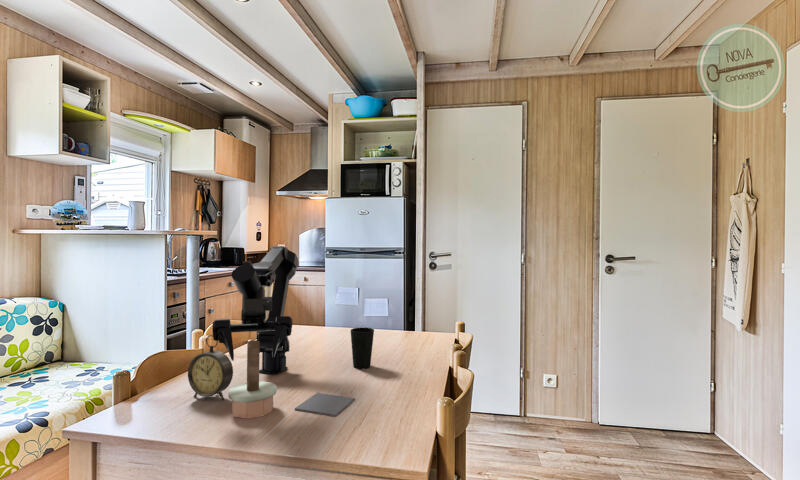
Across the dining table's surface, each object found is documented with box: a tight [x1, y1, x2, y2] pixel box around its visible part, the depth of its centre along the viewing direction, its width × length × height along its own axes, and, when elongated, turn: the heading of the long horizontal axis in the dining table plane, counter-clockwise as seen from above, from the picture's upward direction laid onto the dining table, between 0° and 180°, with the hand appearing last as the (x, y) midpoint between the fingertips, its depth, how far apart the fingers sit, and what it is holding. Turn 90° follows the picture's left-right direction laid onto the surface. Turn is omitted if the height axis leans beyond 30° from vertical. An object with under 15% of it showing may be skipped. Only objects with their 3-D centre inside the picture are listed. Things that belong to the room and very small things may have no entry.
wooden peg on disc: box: [227, 339, 278, 402], centre depth 101 cm, size 11×11×12 cm
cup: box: [350, 326, 375, 370], centre depth 136 cm, size 8×8×12 cm
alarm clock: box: [187, 334, 234, 401], centre depth 108 cm, size 11×5×16 cm, turn 75°
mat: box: [294, 392, 356, 417], centre depth 104 cm, size 11×11×1 cm
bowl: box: [231, 395, 274, 419], centre depth 101 cm, size 9×9×4 cm
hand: (253, 358), depth 100 cm, fingers open, 9 cm apart
